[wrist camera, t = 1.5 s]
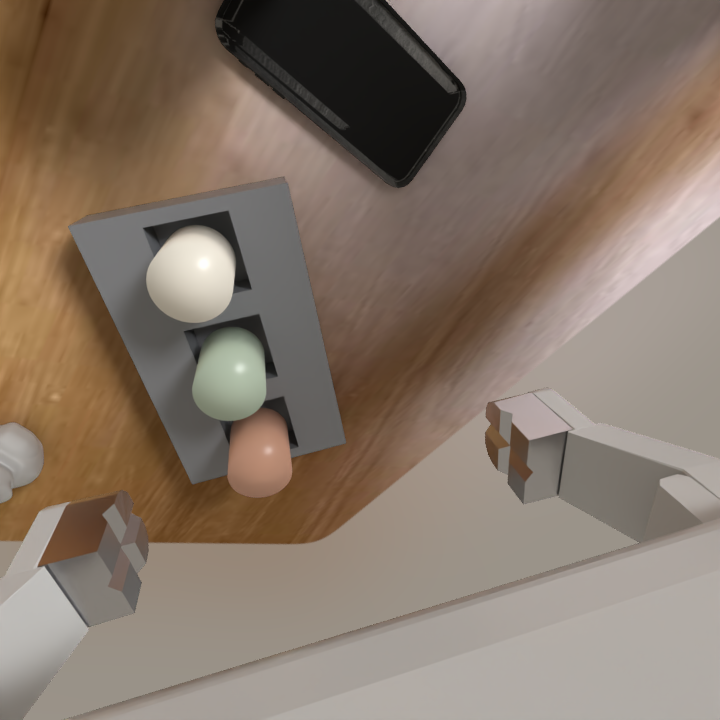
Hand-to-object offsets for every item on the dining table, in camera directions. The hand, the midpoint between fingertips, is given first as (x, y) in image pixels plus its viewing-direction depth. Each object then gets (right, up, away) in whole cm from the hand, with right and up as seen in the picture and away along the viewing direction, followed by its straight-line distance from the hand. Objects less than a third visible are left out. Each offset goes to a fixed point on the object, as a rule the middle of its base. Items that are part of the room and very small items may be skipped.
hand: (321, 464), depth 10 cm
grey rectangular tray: (-9, +4, +25) cm, 26 cm away
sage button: (-8, +3, +22) cm, 23 cm away
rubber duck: (-27, -4, +25) cm, 37 cm away
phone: (0, +21, +18) cm, 28 cm away
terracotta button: (-7, -3, +25) cm, 26 cm away
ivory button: (-9, +9, +18) cm, 22 cm away
